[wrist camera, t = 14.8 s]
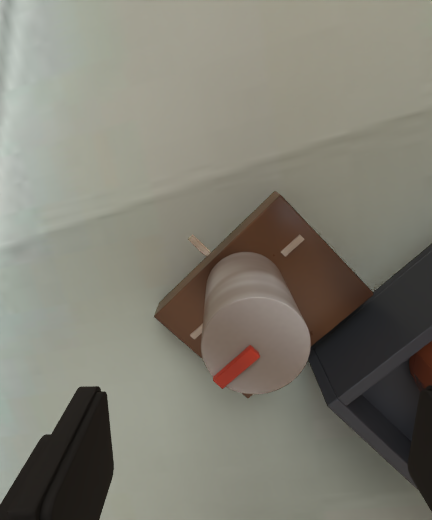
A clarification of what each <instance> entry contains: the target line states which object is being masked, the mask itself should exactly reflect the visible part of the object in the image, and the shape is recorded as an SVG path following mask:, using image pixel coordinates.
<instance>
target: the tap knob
mask: <svg viewBox="0 0 432 520" xmlns="http://www.w3.org/2000/svg"><path fill="white" fill-rule="evenodd" d="M310 348H311V340H310V334H309V330H308V328H307V325H306V323H305V321H304V319H303V317H302V315H301V313H300V311H299V309H298V307H297V305H296V303H295V301H294V299H293V297H292V295H291V293H290V291H289V289H288V287H287V285H286V283H285V281H284V279H283V277H282V275H281V273H280V271H279V269H278V268H277V266H276V265H275V264H274V263H273V262H272V261H271V260H269V259H268V258H266V257H265V256H263V255H260V254H257V253H253V252H239V253H234V254H231V255H229V256H227V257H225V258H223V259H222V260H220V261H219V262H218V263H217V264H216V265H215V266H214V267H213V269H212V270H211V272H210V274H209V276H208V279H207V284H206V294H205V305H204V317H203V328H202V339H201V353H202V358H203V361H204V363H205V366H206V368H207V369H208V371H209V372H210V374H211V375H212V376H213V381H214V382H215V383H216V384H217V385H219V386H220V387H221V388H222V389H223V388H224V387H227V388H229V389H231V390H234V391H237V392H240V393H245V394H264V393H269V392H273V391H276V390H278V389H280V388H282V387H284V386H286V385H288V384H289V383H290V382H292V381H293V380H294V379H295V378H296V377H297V376H298V375H299V374H300V373H301V371H302V370H303V368H304V367H305V365H306V363H307V361H308V357H309V354H310Z"/></svg>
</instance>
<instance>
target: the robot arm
mask: <svg viewBox="0 0 432 520" xmlns="http://www.w3.org/2000/svg"><path fill="white" fill-rule="evenodd" d="M113 470H114V463H113V452H112V442H111V432H110V422H109V411H108V401H107V394H106V392H101V389H100V387H79V388H78V389H77V391H76V393H75V394H74V396H73V398H72V400H71V401H70V403H69V405H68V406H67V408H66V410H65V412H64V413H63V415H62V417H61V419H60V420H59V422H58V424H57V425H56V427H55V429H54V431H53V432H52V434H51V435H44V436H43V437H42V438H41V439H40V440H39V442H38V444H37V445H36V447H35V448H34V450H33V452H32V453H31V455H30V457H29V458H28V460H27V462H26V463H25V465H24V467H23V468H22V470H21V471H20V473H19V475H18V476H17V478H16V480H15V481H14V483H13V485H12V486H11V488H10V490H9V491H8V493H7V495H6V496H5V498H4V499H3V501H2V503H1V504H0V520H99V518H100V515H101V512H102V509H103V506H104V502H105V499H106V496H107V493H108V490H109V486H110V483H111V480H112V476H113ZM408 471H409V474H410V476H411V478H412V480H413V482H414V483H415V485H416V487H417V488H418V490H419V492H420V493H421V495H422V496H423V498H424V500H425V501H426V503H427V505H428V506H429V508H430V510H431V511H432V385H429V386H427V387H426V388H425V390H423V391H421V392H420V396H419V401H418V407H417V413H416V418H415V424H414V430H413V435H412V441H411V447H410V452H409V458H408Z"/></svg>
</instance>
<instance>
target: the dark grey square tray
mask: <svg viewBox="0 0 432 520" xmlns="http://www.w3.org/2000/svg"><path fill="white" fill-rule="evenodd" d="M373 293H374V295H373V296H372V297H370V298H369V299H368V300H367V301H365V302H364V303H363V304H362V305H361V306H359V307H358V308H357V309H356V310H355V311H353V312H352V313H351V314H350V315H349V316H347V317H346V318H345V319H344V320H342V321H341V322H340V323H339V324H338V325H336V326H335V327H334V328H333V329H332V330H330V331H329V332H328V333H327V334H326V335H324V336H323V337H322V338H321V339H319V340H318V341H317V342H316V343H315V344H313V345H312V346H311V348H310V354H309V357H308V361H309V363H310V366H311V368H312V370H313V373H314V375H315V377H316V380H317V382H318V385H319V387H320V389H321V392H322V394H323V396H324V399H325V401H326V403H327V406H328V407H329V408H330V409H331V410H332V411H333V412H334V413H335V414H337V415H338V416H339V417H340V418H341V419H342V420H343V421H344V422H345V423H346V424H347V425H348V426H350V427H351V428H352V429H353V430H354V431H355V432H356V433H357V434H358V435H359V436H360V437H361V438H363V439H364V440H365V441H366V442H367V443H368V444H369V445H370V446H371V447H372V448H373V449H374V450H376V451H377V452H378V453H379V454H380V455H381V456H382V457H383V458H384V459H385V460H386V461H387V462H388V463H390V464H391V465H392V466H393V467H394V468H395V469H396V470H397V471H398V472H399V473H400V474H401V475H403V476H404V477H405V478H406V479H407V480H408V481H409V482H410V483H411V484H412V485H413V486H414V487H416V485H415V483H414V482H413V480H412V478H411V476H410V474H409V471H408V458H409V452H410V447H411V441H412V435H413V430H414V424H415V418H416V413H417V407H418V401H419V396H420V392H421V391H420V390H419V389H418V387H417V386H416V384H415V383H414V381H413V379H412V376H411V373H410V368H409V359H410V357H411V356H413V355H414V354H415V353H416V352H418V351H419V350H420V349H422V348H423V347H424V346H426V345H427V344H428V343H430V342H431V341H432V244H431V245H430V246H429V247H427V248H426V249H425V250H424V251H423V252H421V253H420V254H419V255H418V256H417V257H415V258H414V259H413V260H412V261H411V262H409V263H408V264H407V265H406V266H405V267H403V268H402V269H401V270H400V271H398V272H397V273H396V274H395V275H394V276H392V277H391V278H390V279H389V280H388V281H386V282H385V283H384V284H383V285H382V286H380V287H379V288H378V289H377V290H376V291H374V292H373ZM416 488H417V487H416ZM417 489H418V488H417Z"/></svg>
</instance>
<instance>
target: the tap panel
mask: <svg viewBox="0 0 432 520" xmlns="http://www.w3.org/2000/svg"><path fill="white" fill-rule="evenodd" d="M188 240H189V241H190V242H191V243H192V244H193V245H194V246H195V247H196V248H197V249H198V250H200V251H201V252H202V253H203V254H204V255H205V256H207V255H208V256H207V257H206V258H205V259H204V260H203V261H202V262H201V263H200V264H199V265H198V266H197V267H196V268H195V269H194V270H193V271H192V272H190V273H189V274H188V275H187V276H186V277H185V278H184V279H183V280H182V281H181V282H180V283H179V284H178V285H177V286H176V287H175V288H174V289H173V290H172V291H171V292H170V293H169V294H168V295H167V296H166V297H165V298H164V299H163V300H162V301H161V302H159V305H158V307H157V310H156V312H155V315H154V317H155V318H156V319H157V320H158V321H160V322H161V323H162V324H163V325H164V326H165V327H166V328H168V329H169V330H170V331H171V332H172V333H173V334H174V335H176V336H177V337H178V338H179V339H180V340H181V341H182V342H184V343H185V344H186V345H187V346H188V347H189V348H191V349H192V350H193V351H194V352H195V353H196V354H197V355H199V356H200V357H201V358H202V353H201V339H202V328H203V317H204V305H205V294H206V284H207V279H208V276H209V274H210V272H211V270H212V269H213V267H214V266H215V265H216V264H217V263H218V262H219V261H220V260H222V259H223V258H225V257H227V256H229V255H231V254H234V253H239V252H253V253H257V254H260V255H263V256H265V257H266V258H268V259H269V260H271V261H272V262H273V263H274V264H275V265H276V266H277V268H278V269H279V271H280V273H281V275H282V277H283V279H284V281H285V283H286V285H287V287H288V289H289V291H290V293H291V295H292V297H293V299H294V301H295V303H296V305H297V307H298V309H299V311H300V313H301V315H302V317H303V319H304V321H305V323H306V325H307V328H308V330H309V334H310V340H311V346H312V345H313V344H315V343H316V342H317V341H318V340H319V339H321V338H322V337H323V336H324V335H326V334H327V333H328V332H329V331H330V330H332V329H333V328H334V327H335V326H336V325H338V324H339V323H340V322H341V321H342V320H344V319H345V318H346V317H347V316H349V315H350V314H351V313H352V312H353V311H355V310H356V309H357V308H358V307H359V306H361V305H362V304H363V303H364V302H365V301H367V300H368V299H369V298H370V297H372V296H373V295H374V293H373V292H372V291H371V290H370V289H369V288H368V287H367V286H366V285H365V284H364V283H363V281H362V280H361V279H360V278H359V277H358V276H357V275H356V274H355V273H354V272H353V271H352V270H351V269H350V268H349V267H348V266H347V265H346V263H345V262H344V261H343V260H342V259H341V258H340V257H339V256H338V255H337V254H336V253H335V252H334V251H333V250H332V249H331V248H330V247H329V245H328V244H327V243H326V242H325V241H324V240H323V239H322V238H321V237H320V236H319V235H318V234H317V233H316V232H315V231H314V230H313V229H312V228H311V226H310V225H309V224H308V223H307V222H306V221H305V220H304V219H303V218H302V217H301V216H300V215H299V214H298V213H297V212H296V211H295V210H294V208H293V207H292V206H291V205H290V204H289V203H288V202H287V201H286V200H285V199H284V198H283V197H282V196H281V195H280V194H279V193H277V192H276V191H274V192H273V193H272V194H271V195H270V196H269V197H268V198H267V199H266V200H265V201H264V202H263V203H262V204H261V205H260V206H259V207H258V208H257V209H256V210H255V211H254V212H253V213H251V214H250V215H249V216H248V217H247V218H246V219H245V220H244V221H243V222H242V223H241V224H240V225H239V226H238V227H237V228H236V229H235V230H234V231H233V232H232V233H231V234H230V235H229V236H228V237H227V238H226V239H225V240H224V241H223V242H221V243H220V244H219V245H218V246H217V247H216V248H215V249H214V250H213V251H212V252H211V251H209V250H208V249H207V248H206V247H205V246H204V245H203V244H202V243H201V242H200V241H199V240H198V239H197V238H196V237H195V236H194V235H193V234H192V235H191V236H190V237H189V238H188ZM202 359H203V358H202ZM242 394H243V395H244V396H246V397H247V398H249V397H250V396H252V395H253V394H245V393H242Z"/></svg>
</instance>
